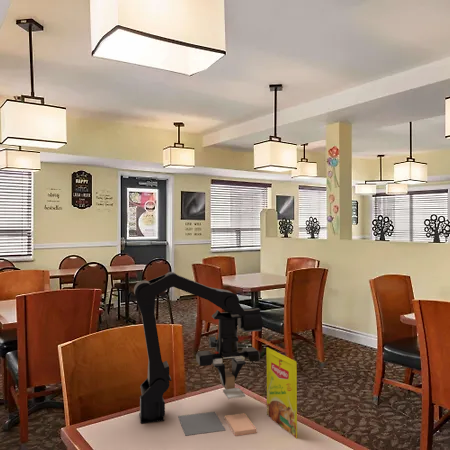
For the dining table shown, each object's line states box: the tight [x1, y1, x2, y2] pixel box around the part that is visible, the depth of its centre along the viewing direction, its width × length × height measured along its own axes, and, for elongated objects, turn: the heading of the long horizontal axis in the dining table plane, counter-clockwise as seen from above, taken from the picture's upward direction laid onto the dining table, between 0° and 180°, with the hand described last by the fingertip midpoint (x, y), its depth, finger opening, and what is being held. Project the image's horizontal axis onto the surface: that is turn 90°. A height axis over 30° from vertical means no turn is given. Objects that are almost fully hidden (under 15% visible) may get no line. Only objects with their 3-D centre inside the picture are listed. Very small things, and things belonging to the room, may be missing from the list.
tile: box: [224, 412, 257, 437], centre depth 118 cm, size 6×2×10 cm
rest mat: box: [178, 411, 227, 437], centre depth 119 cm, size 11×12×1 cm
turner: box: [219, 368, 246, 400], centre depth 127 cm, size 14×5×4 cm, turn 16°
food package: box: [265, 346, 298, 439], centre depth 118 cm, size 15×1×20 cm, turn 25°
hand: (228, 384), depth 129 cm, fingers closed on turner, 2 cm apart
